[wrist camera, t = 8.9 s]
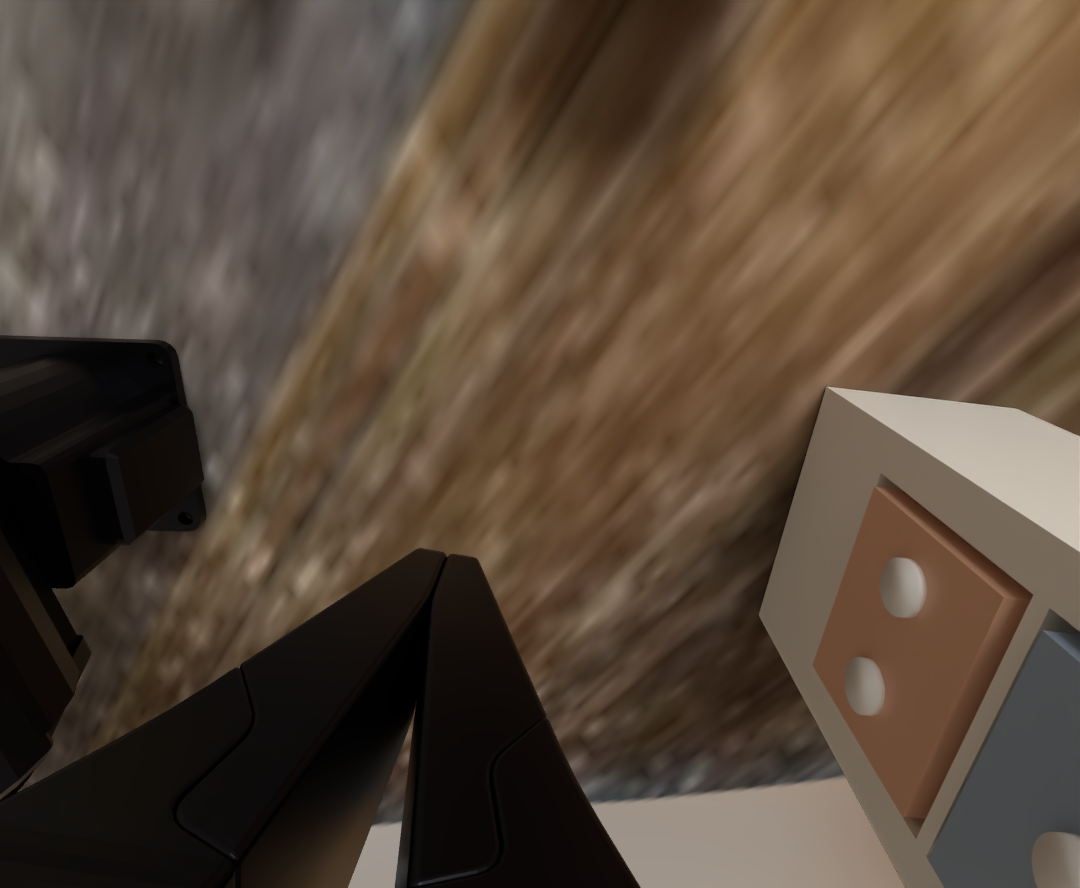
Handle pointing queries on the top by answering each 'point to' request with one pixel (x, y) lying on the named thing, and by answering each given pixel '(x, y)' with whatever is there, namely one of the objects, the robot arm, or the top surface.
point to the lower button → (915, 643)
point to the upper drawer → (1023, 785)
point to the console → (964, 506)
